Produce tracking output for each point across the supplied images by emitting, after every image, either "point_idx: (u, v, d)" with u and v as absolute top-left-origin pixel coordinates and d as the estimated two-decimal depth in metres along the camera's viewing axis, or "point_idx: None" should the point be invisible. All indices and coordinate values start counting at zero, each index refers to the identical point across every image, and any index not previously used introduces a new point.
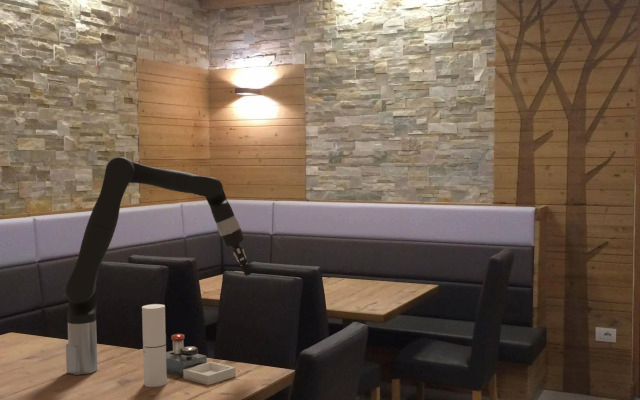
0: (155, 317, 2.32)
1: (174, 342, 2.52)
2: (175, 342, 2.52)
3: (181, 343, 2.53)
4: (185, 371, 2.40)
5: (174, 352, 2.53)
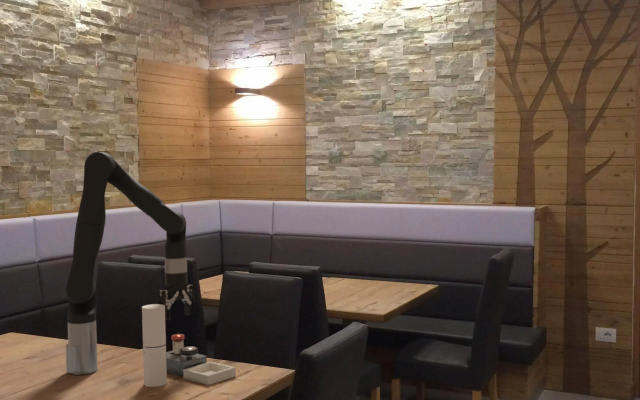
0: (155, 317, 2.32)
1: (174, 342, 2.52)
2: (175, 342, 2.52)
3: (181, 343, 2.53)
4: (185, 371, 2.40)
5: (174, 352, 2.53)
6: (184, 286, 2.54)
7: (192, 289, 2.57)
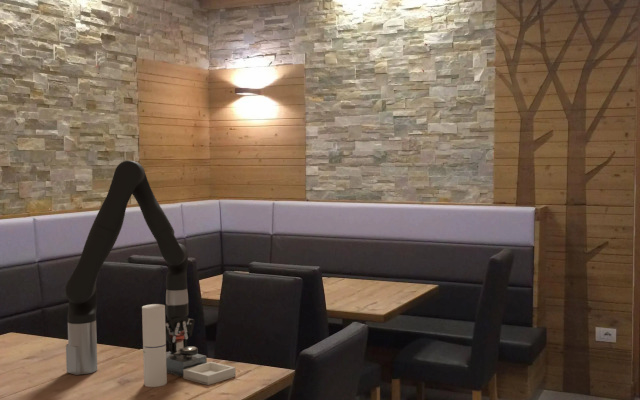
0: (155, 317, 2.32)
1: None
2: None
3: (181, 343, 2.53)
4: (185, 371, 2.40)
5: None
6: (186, 317, 2.55)
7: (192, 323, 2.57)
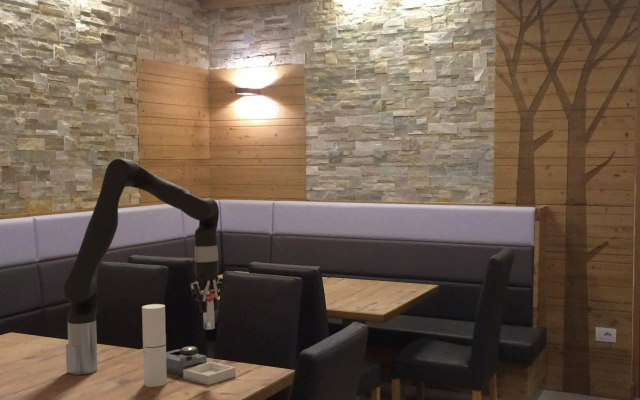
0: (155, 317, 2.32)
1: None
2: None
3: (211, 302, 2.40)
4: (185, 371, 2.40)
5: None
6: (216, 275, 2.43)
7: (222, 282, 2.45)
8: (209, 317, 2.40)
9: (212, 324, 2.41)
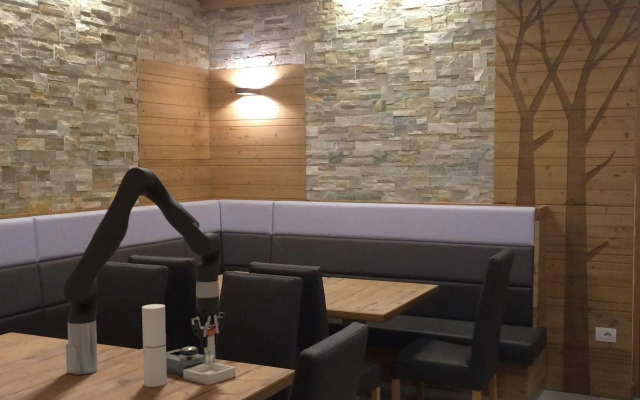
0: (155, 317, 2.32)
1: None
2: (206, 336, 2.40)
3: (212, 337, 2.40)
4: (185, 371, 2.40)
5: None
6: (217, 310, 2.42)
7: (223, 317, 2.45)
8: (209, 352, 2.40)
9: (212, 359, 2.41)
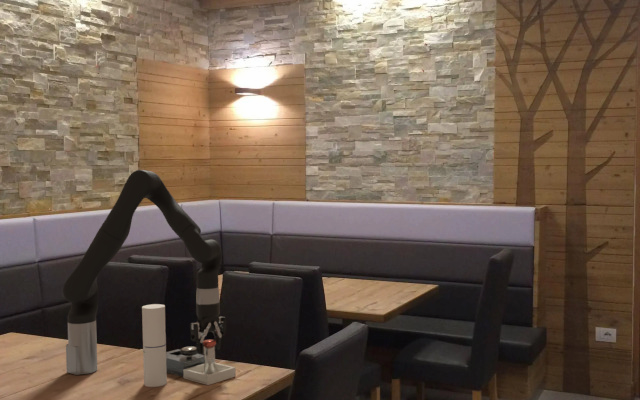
0: (155, 317, 2.32)
1: (205, 348, 2.40)
2: (206, 348, 2.40)
3: (213, 349, 2.41)
4: (185, 371, 2.40)
5: (205, 359, 2.40)
6: (216, 317, 2.42)
7: (224, 321, 2.45)
8: (209, 364, 2.40)
9: (212, 371, 2.41)
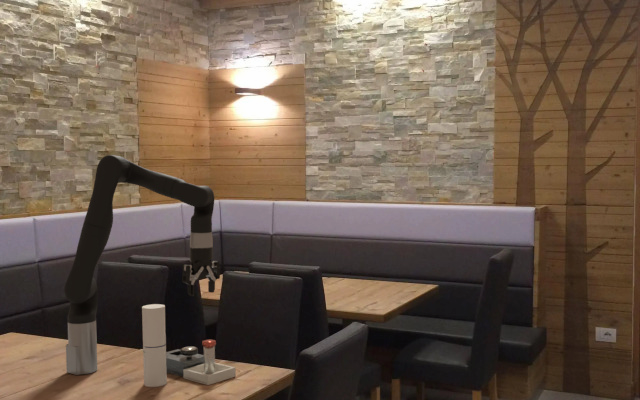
0: (155, 317, 2.32)
1: (205, 348, 2.40)
2: (206, 348, 2.40)
3: (212, 349, 2.40)
4: (185, 371, 2.40)
5: (205, 359, 2.40)
6: (209, 262, 2.46)
7: (217, 265, 2.49)
8: (209, 364, 2.40)
9: (212, 371, 2.41)
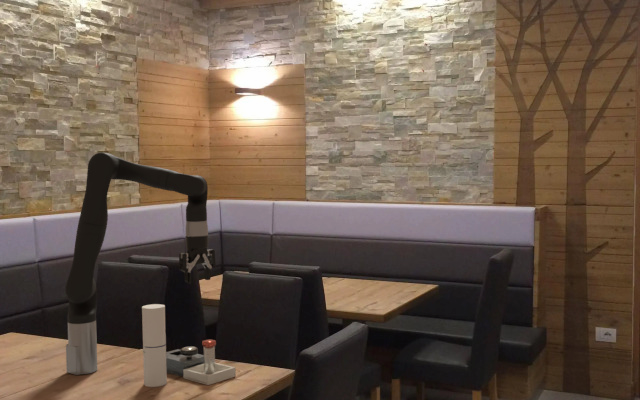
0: (155, 317, 2.32)
1: (205, 348, 2.40)
2: (206, 348, 2.40)
3: (212, 349, 2.41)
4: (185, 371, 2.40)
5: (205, 359, 2.40)
6: (205, 250, 2.52)
7: (212, 253, 2.54)
8: (209, 364, 2.40)
9: (212, 371, 2.41)
